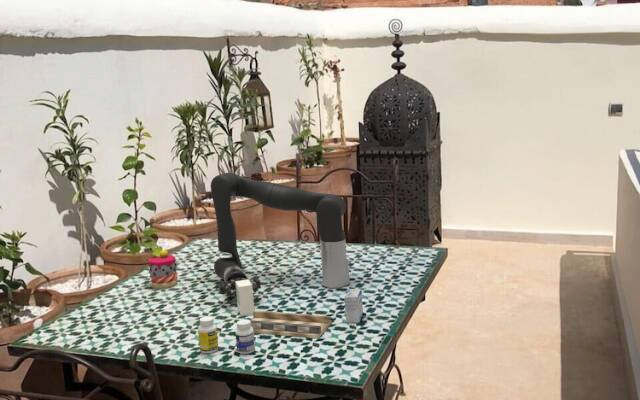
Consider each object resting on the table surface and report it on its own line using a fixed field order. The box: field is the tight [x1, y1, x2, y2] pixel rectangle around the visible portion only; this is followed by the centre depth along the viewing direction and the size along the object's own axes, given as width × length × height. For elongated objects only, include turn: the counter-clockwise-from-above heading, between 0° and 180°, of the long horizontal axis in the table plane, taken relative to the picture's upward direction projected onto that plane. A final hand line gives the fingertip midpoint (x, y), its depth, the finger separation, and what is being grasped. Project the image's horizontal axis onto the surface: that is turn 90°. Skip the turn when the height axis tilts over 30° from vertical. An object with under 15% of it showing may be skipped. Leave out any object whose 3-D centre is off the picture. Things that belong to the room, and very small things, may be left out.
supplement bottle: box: [197, 315, 219, 354], centre depth 197 cm, size 5×5×10 cm
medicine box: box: [344, 288, 364, 324], centre depth 214 cm, size 8×4×9 cm, turn 168°
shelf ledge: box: [249, 310, 332, 339], centre depth 211 cm, size 26×12×3 cm, turn 70°
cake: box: [147, 245, 179, 290], centre depth 260 cm, size 10×11×15 cm
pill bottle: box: [235, 318, 256, 355], centre depth 195 cm, size 5×5×9 cm
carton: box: [235, 278, 255, 317], centre depth 227 cm, size 4×6×10 cm
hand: (243, 291), depth 229 cm, fingers open, 8 cm apart
